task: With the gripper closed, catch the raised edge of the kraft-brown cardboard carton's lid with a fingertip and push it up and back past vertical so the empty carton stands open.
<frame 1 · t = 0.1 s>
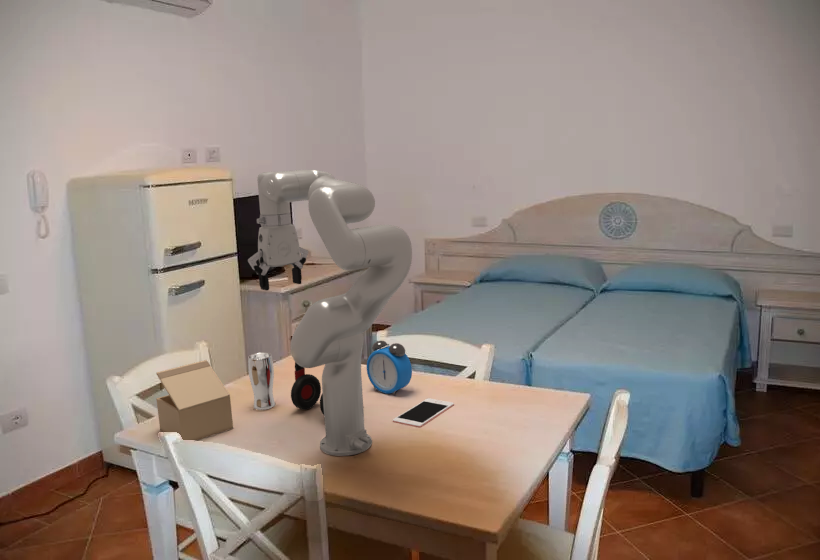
hand: (281, 286, 180), 37 cm above the table, tool pointing down, fingers open, 9 cm apart
cell phone: (424, 415, 188), on the table
carton: (196, 429, 184), on the table
headphones: (321, 414, 191), on the table
alarm clock: (390, 391, 206), on the table
lid: (193, 384, 181), point 13 cm above the table, hinge at 30.0°
beer glass: (264, 406, 198), on the table
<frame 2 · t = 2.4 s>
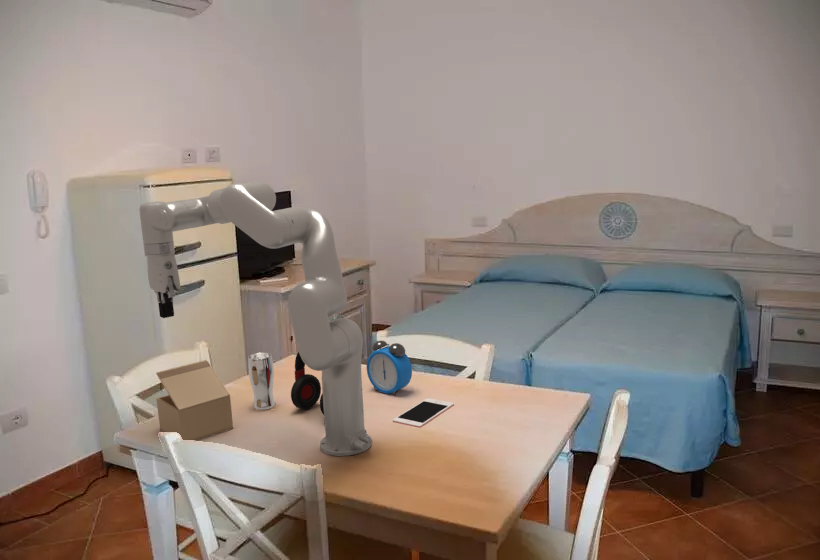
hand: (167, 316, 186), 29 cm above the table, tool pointing down, fingers closed
nothing on the table moved.
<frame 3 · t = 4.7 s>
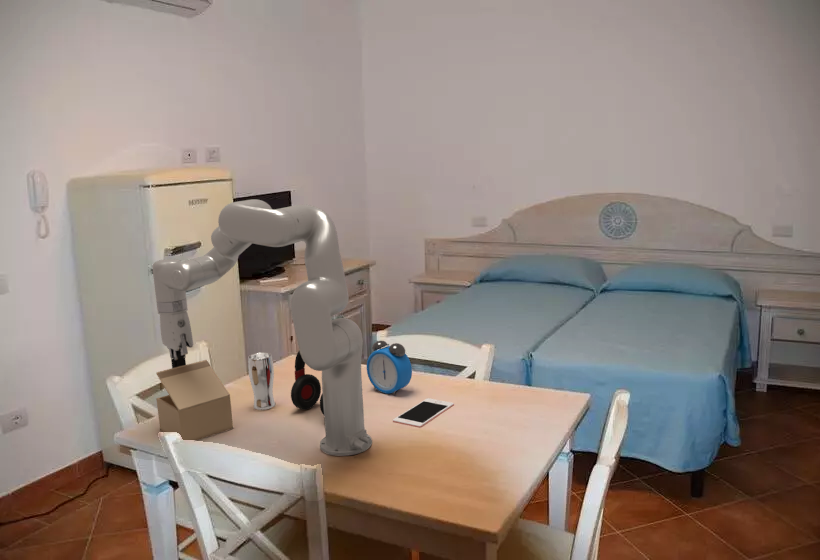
hand: (179, 372, 186), 14 cm above the table, tool pointing down, fingers closed
lid: (193, 384, 181), point 13 cm above the table, hinge at 30.2°, touching gripper
everything else where it was.
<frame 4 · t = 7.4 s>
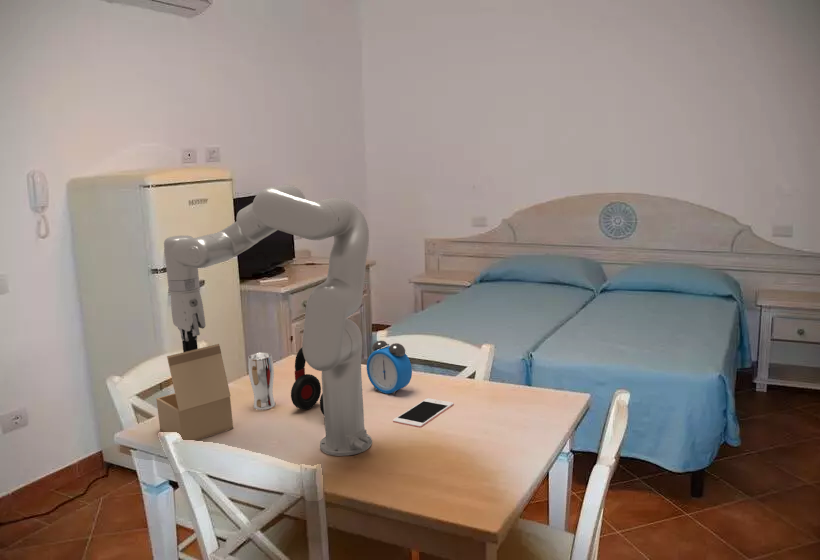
hand: (190, 354, 179), 21 cm above the table, tool pointing down, fingers closed
lid: (199, 376, 177), point 16 cm above the table, hinge at 75.1°, touching gripper
everything else where it was.
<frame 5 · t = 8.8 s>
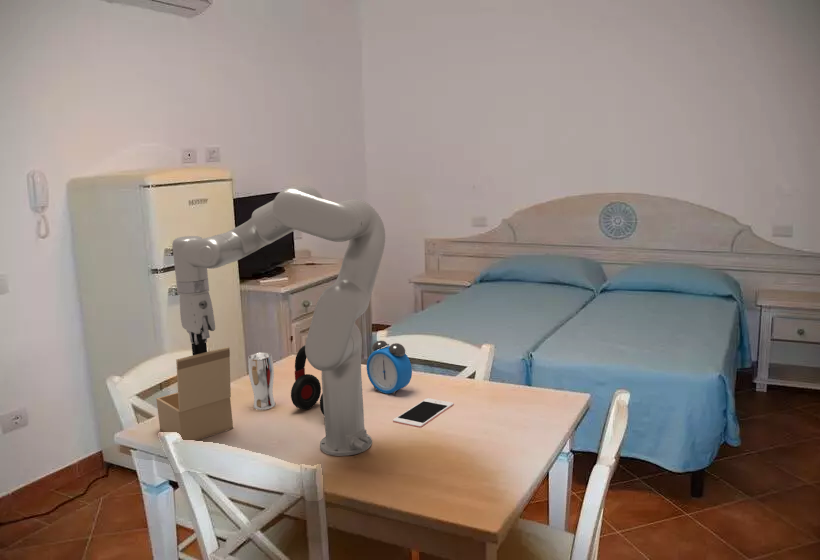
hand: (200, 357, 174), 21 cm above the table, tool pointing down, fingers closed
lid: (204, 379, 175), point 16 cm above the table, hinge at 98.5°, touching gripper
everything else where it was.
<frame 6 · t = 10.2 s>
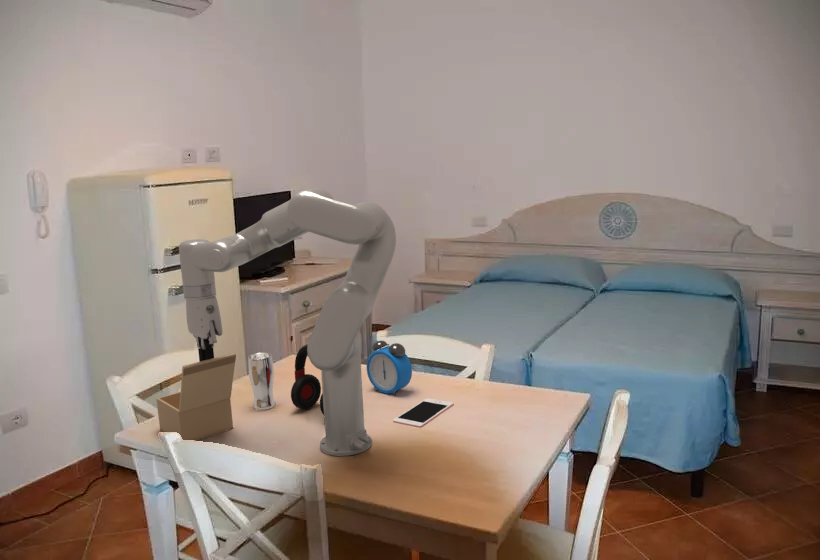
hand: (207, 363, 172), 21 cm above the table, tool pointing down, fingers closed
lid: (207, 382, 173), point 15 cm above the table, hinge at 112.8°, touching gripper
everything else where it was.
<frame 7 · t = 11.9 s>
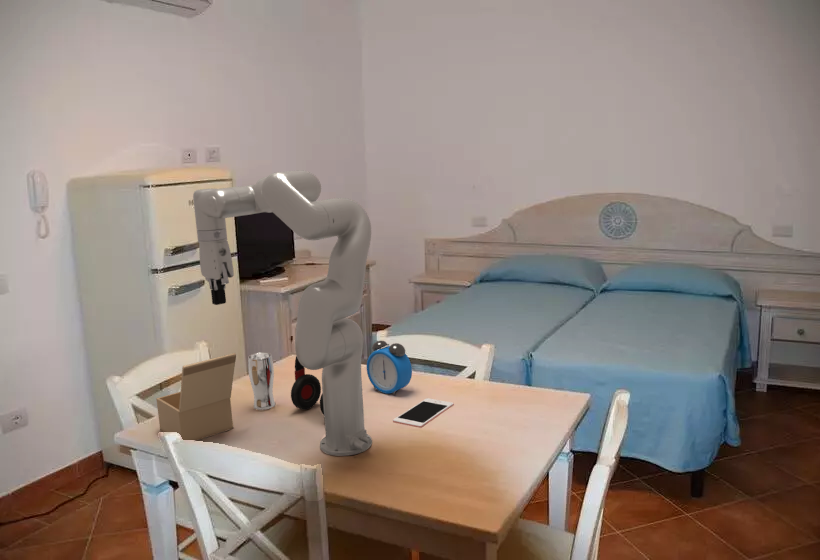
hand: (219, 303, 186), 32 cm above the table, tool pointing down, fingers closed
lid: (207, 382, 173), point 15 cm above the table, hinge at 112.9°
everything else where it was.
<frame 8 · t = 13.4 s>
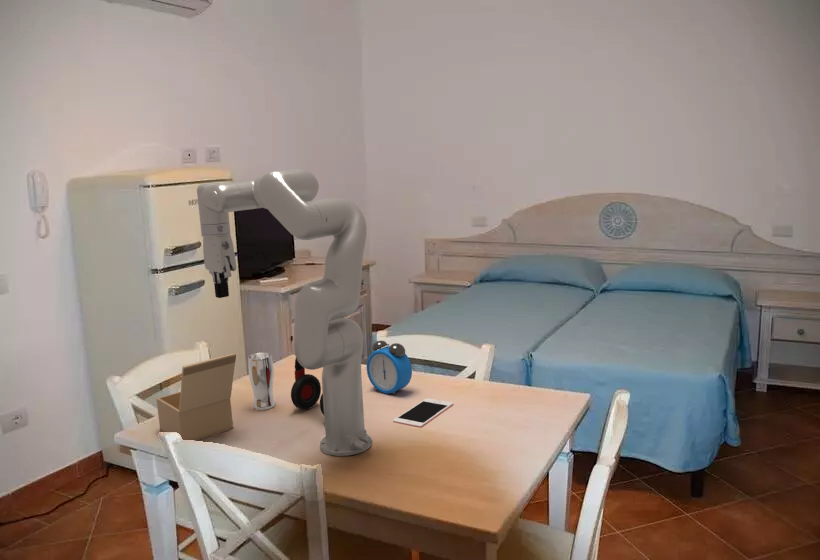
hand: (222, 296, 189), 33 cm above the table, tool pointing down, fingers closed
nothing on the table moved.
at the end: lid at +113° (first picture: +30°); the gripper is holding nothing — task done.
